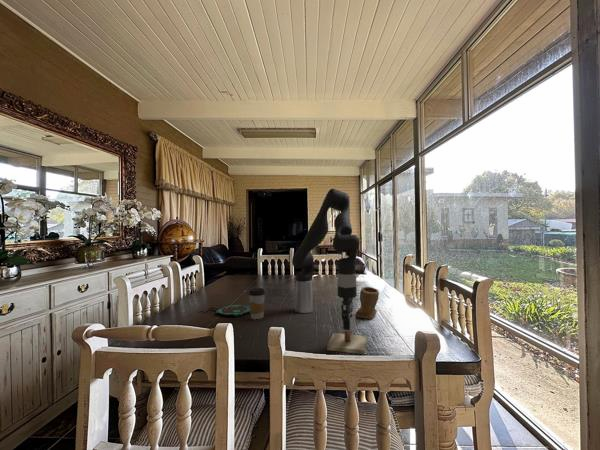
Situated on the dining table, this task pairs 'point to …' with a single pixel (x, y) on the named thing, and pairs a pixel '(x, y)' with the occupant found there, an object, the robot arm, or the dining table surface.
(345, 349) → the post stand
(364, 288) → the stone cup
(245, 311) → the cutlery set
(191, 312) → the dining table surface
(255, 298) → the coffee cup
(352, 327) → the ring
